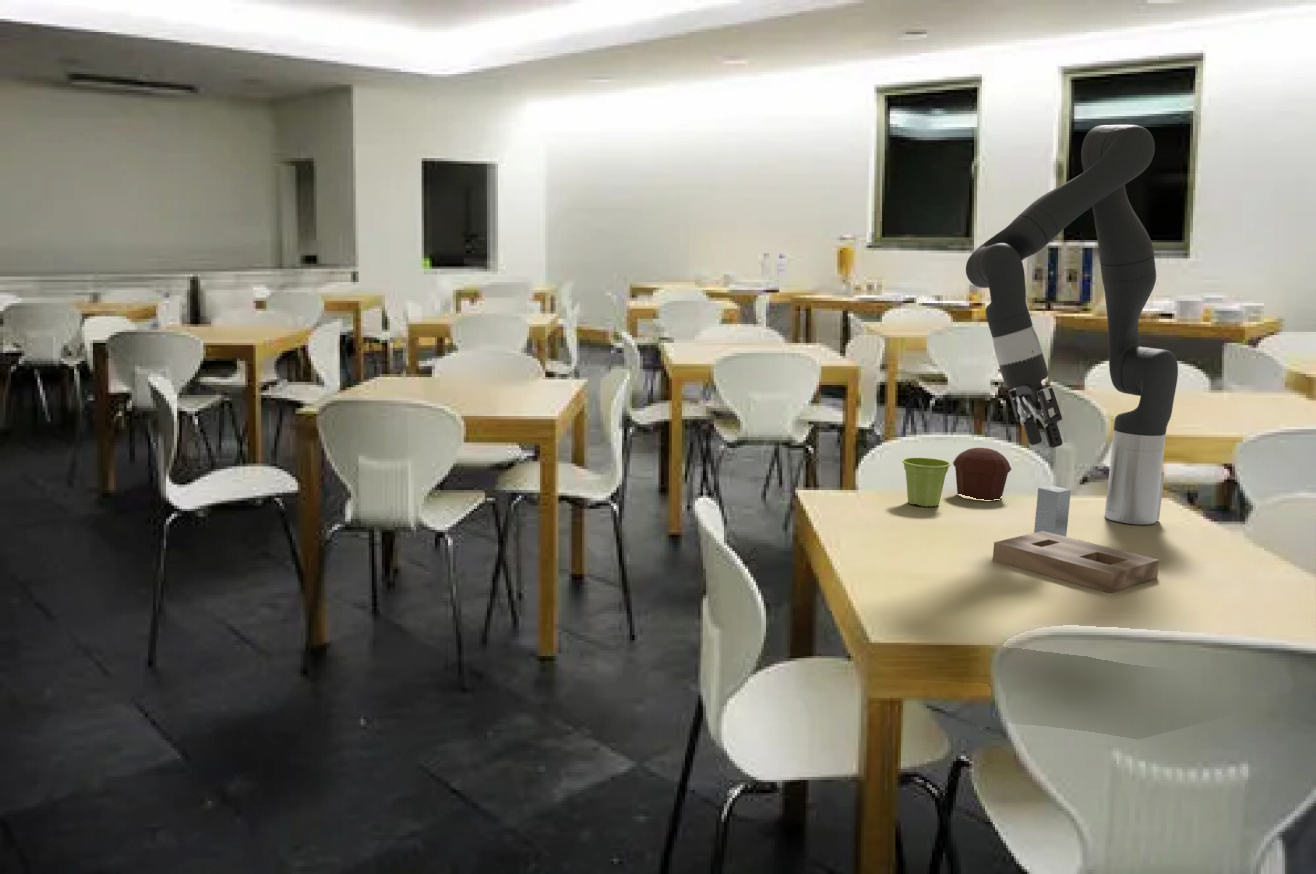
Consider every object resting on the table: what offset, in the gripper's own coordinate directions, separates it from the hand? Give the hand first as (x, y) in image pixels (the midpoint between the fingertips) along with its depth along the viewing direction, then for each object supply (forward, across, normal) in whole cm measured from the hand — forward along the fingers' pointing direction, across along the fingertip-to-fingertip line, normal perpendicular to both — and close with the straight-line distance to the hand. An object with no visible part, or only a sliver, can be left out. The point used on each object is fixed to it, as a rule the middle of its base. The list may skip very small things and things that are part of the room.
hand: (1046, 445), depth 200 cm
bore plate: (+18, -15, +8) cm, 25 cm away
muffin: (+13, +36, +3) cm, 38 cm away
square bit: (+17, +4, +3) cm, 18 cm away
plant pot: (+9, +29, +16) cm, 34 cm away
